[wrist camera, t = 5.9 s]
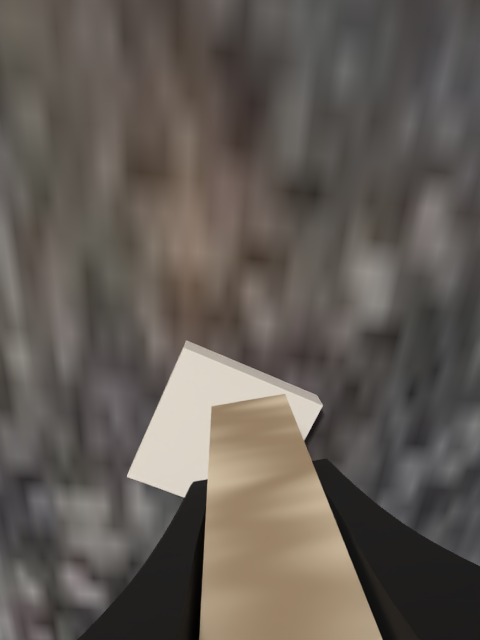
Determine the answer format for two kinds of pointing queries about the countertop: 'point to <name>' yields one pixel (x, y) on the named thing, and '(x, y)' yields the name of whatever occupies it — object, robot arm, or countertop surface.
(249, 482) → the stick
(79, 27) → the countertop surface
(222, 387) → the tile
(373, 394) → the countertop surface
